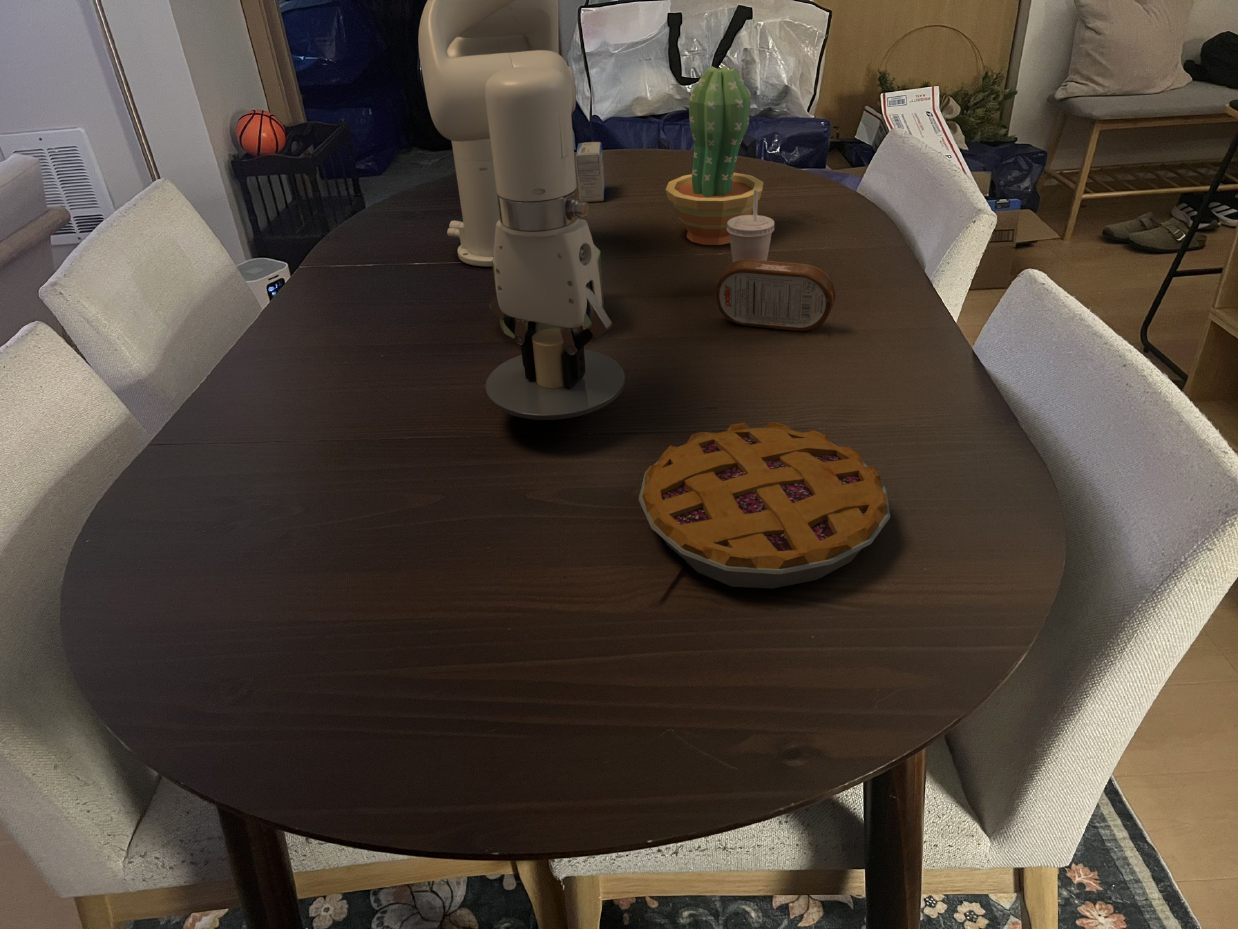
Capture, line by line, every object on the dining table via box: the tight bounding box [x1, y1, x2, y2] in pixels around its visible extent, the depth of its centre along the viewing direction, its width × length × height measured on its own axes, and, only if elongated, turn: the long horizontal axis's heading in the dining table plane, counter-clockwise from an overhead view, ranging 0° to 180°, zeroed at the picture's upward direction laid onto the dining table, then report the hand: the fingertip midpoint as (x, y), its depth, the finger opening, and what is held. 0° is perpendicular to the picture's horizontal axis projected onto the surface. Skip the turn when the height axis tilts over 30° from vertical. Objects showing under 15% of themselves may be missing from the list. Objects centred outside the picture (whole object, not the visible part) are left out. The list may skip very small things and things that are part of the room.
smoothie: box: [727, 189, 775, 263], centre depth 125 cm, size 6×6×14 cm
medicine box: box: [575, 141, 605, 203], centre depth 166 cm, size 8×4×9 cm, turn 179°
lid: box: [485, 328, 626, 421], centre depth 97 cm, size 15×15×6 cm
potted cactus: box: [665, 65, 764, 246], centre depth 141 cm, size 16×15×25 cm
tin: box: [714, 259, 836, 332], centre depth 116 cm, size 15×3×8 cm, turn 71°
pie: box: [638, 421, 891, 589], centre depth 83 cm, size 22×22×5 cm
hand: (554, 376), depth 98 cm, fingers closed on lid, 4 cm apart
